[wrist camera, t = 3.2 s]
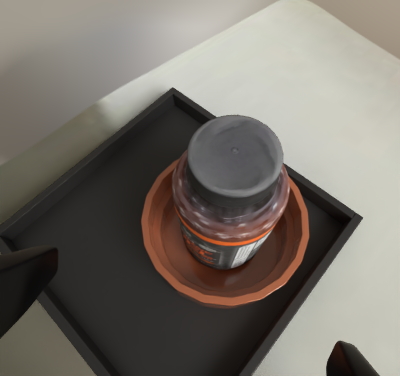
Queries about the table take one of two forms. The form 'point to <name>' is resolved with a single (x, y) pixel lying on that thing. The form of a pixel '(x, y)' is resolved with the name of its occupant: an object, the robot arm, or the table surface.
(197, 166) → the supplement bottle
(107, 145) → the tray
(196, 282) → the bowl
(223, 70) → the table surface
